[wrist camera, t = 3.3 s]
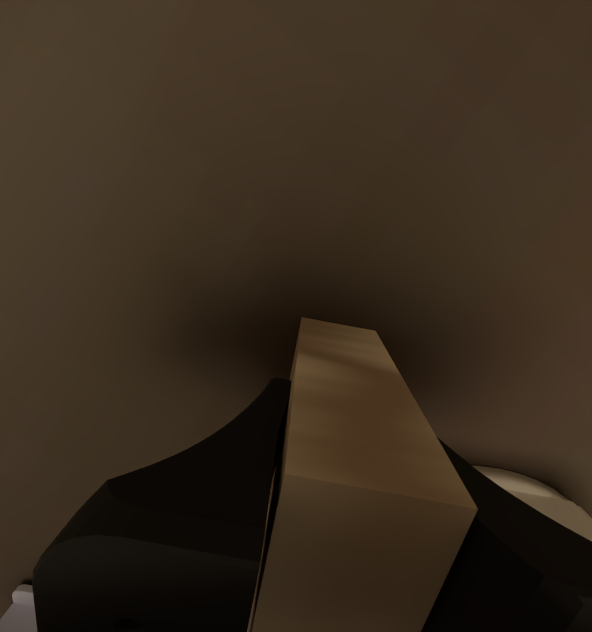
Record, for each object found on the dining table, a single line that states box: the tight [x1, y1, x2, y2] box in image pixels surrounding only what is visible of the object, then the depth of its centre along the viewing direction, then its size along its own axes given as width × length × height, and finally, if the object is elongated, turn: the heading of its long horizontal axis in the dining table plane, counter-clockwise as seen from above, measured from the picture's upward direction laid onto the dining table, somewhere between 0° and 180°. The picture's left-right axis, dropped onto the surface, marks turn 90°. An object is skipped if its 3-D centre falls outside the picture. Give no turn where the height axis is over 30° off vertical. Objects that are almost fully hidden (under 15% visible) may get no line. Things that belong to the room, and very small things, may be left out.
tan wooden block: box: [249, 317, 478, 632], centre depth 9 cm, size 3×5×8 cm, turn 170°
